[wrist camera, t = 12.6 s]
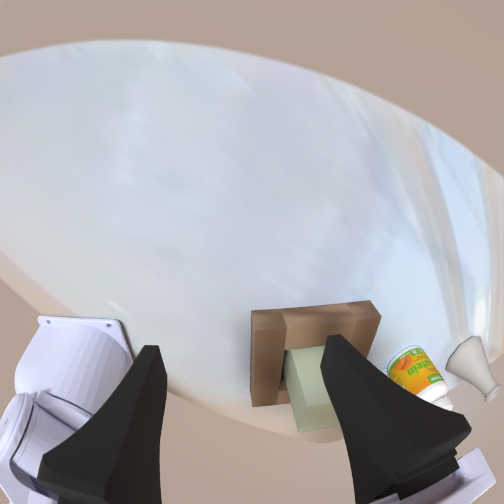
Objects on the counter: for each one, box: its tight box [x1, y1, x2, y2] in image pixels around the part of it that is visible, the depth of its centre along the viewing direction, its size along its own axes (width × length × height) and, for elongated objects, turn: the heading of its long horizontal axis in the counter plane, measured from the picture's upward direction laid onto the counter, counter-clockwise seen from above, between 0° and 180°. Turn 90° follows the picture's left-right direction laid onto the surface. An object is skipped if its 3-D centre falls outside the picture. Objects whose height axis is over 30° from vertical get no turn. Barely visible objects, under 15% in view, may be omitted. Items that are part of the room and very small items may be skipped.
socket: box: [250, 300, 382, 407], centre depth 25 cm, size 11×11×2 cm
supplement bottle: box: [387, 346, 453, 411], centre depth 26 cm, size 5×5×10 cm
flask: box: [446, 336, 502, 402], centre depth 28 cm, size 7×7×10 cm
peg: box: [282, 346, 340, 433], centre depth 23 cm, size 4×4×8 cm
